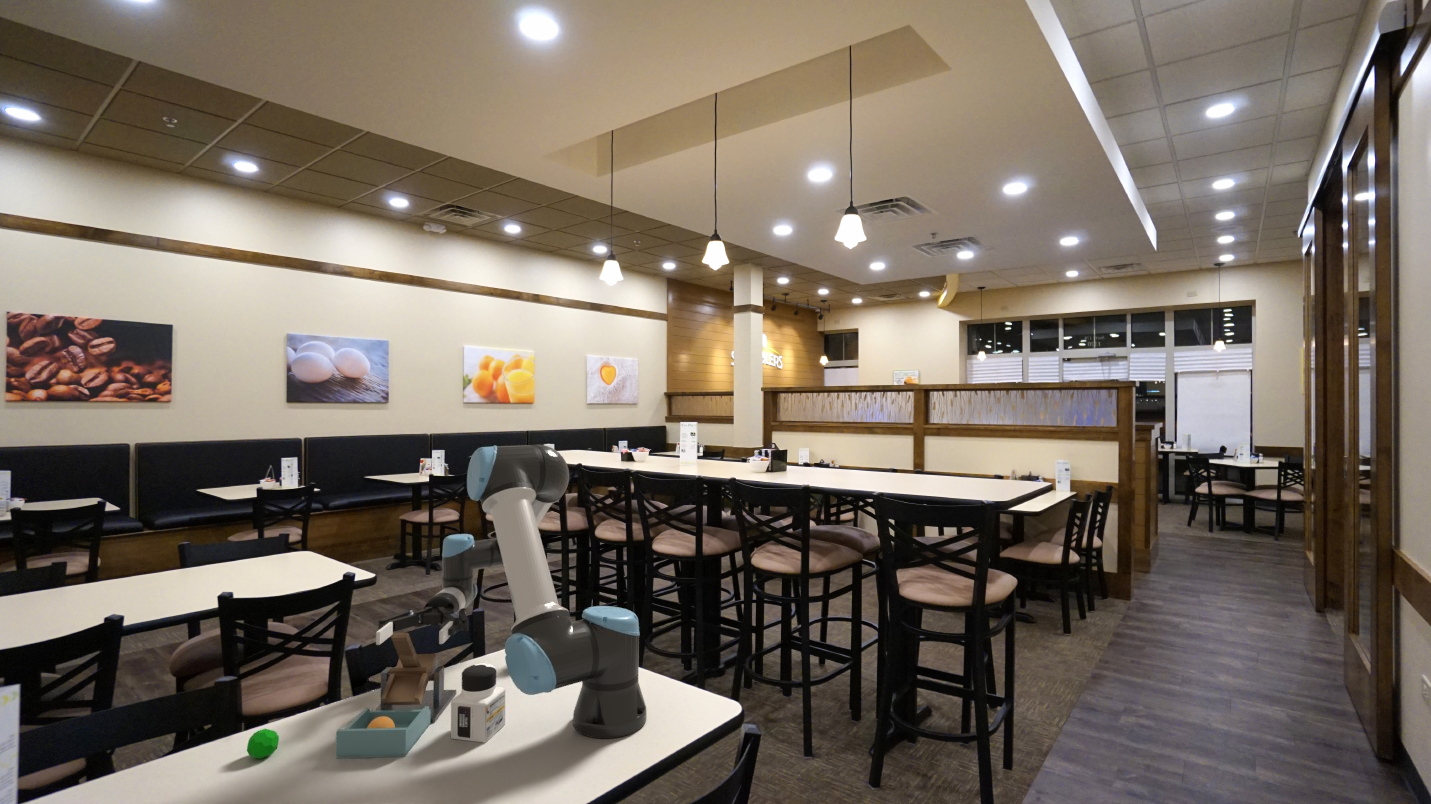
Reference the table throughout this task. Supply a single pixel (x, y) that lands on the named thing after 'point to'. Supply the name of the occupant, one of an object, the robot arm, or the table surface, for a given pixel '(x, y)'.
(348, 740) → the tray
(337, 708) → the table surface
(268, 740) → the polyhedron
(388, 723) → the ball
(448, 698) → the stand
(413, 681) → the brown wooden catapult
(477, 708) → the container
